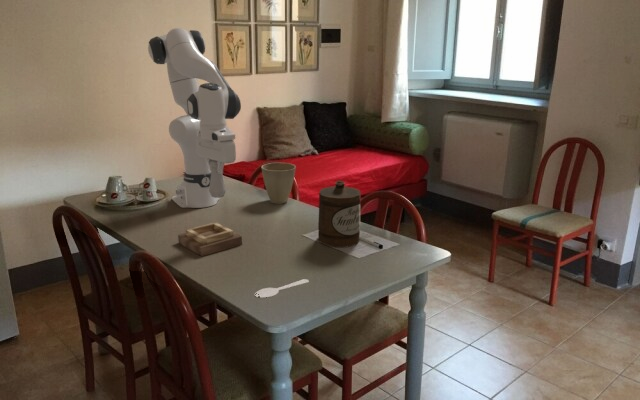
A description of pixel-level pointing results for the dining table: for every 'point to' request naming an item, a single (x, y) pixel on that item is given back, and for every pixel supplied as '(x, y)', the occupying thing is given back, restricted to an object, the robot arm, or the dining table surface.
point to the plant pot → (278, 180)
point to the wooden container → (339, 215)
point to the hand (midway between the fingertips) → (216, 172)
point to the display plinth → (209, 238)
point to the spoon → (274, 291)
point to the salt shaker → (216, 182)
